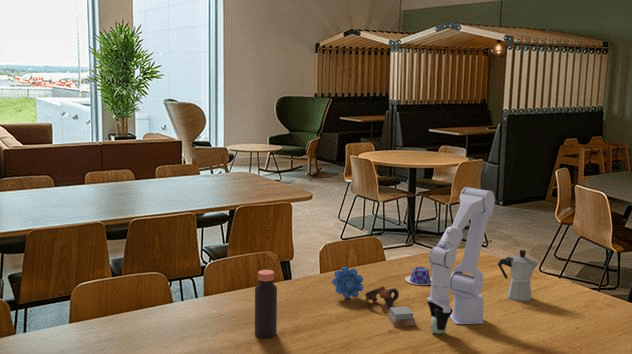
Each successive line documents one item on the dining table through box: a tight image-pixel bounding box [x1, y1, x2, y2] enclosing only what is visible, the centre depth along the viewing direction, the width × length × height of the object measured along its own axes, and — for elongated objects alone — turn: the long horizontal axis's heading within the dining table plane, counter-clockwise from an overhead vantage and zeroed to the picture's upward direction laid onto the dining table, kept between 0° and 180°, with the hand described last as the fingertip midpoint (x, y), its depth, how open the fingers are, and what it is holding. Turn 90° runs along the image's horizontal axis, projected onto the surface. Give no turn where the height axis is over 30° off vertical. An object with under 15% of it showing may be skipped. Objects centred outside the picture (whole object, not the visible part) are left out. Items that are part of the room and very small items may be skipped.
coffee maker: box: [497, 249, 541, 303], centre depth 238 cm, size 15×9×18 cm, turn 84°
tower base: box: [387, 311, 416, 327], centre depth 215 cm, size 7×7×2 cm
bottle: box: [254, 269, 278, 339], centre depth 201 cm, size 7×7×20 cm
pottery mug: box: [364, 285, 400, 313], centre depth 228 cm, size 12×10×8 cm
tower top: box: [389, 306, 414, 320], centre depth 214 cm, size 6×6×2 cm
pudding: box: [404, 266, 432, 286], centre depth 256 cm, size 12×12×5 cm
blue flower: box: [331, 266, 364, 299], centre depth 233 cm, size 12×7×12 cm, turn 101°
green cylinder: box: [430, 316, 447, 335], centre depth 206 cm, size 5×5×4 cm
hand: (438, 326), depth 206 cm, fingers closed on green cylinder, 5 cm apart
